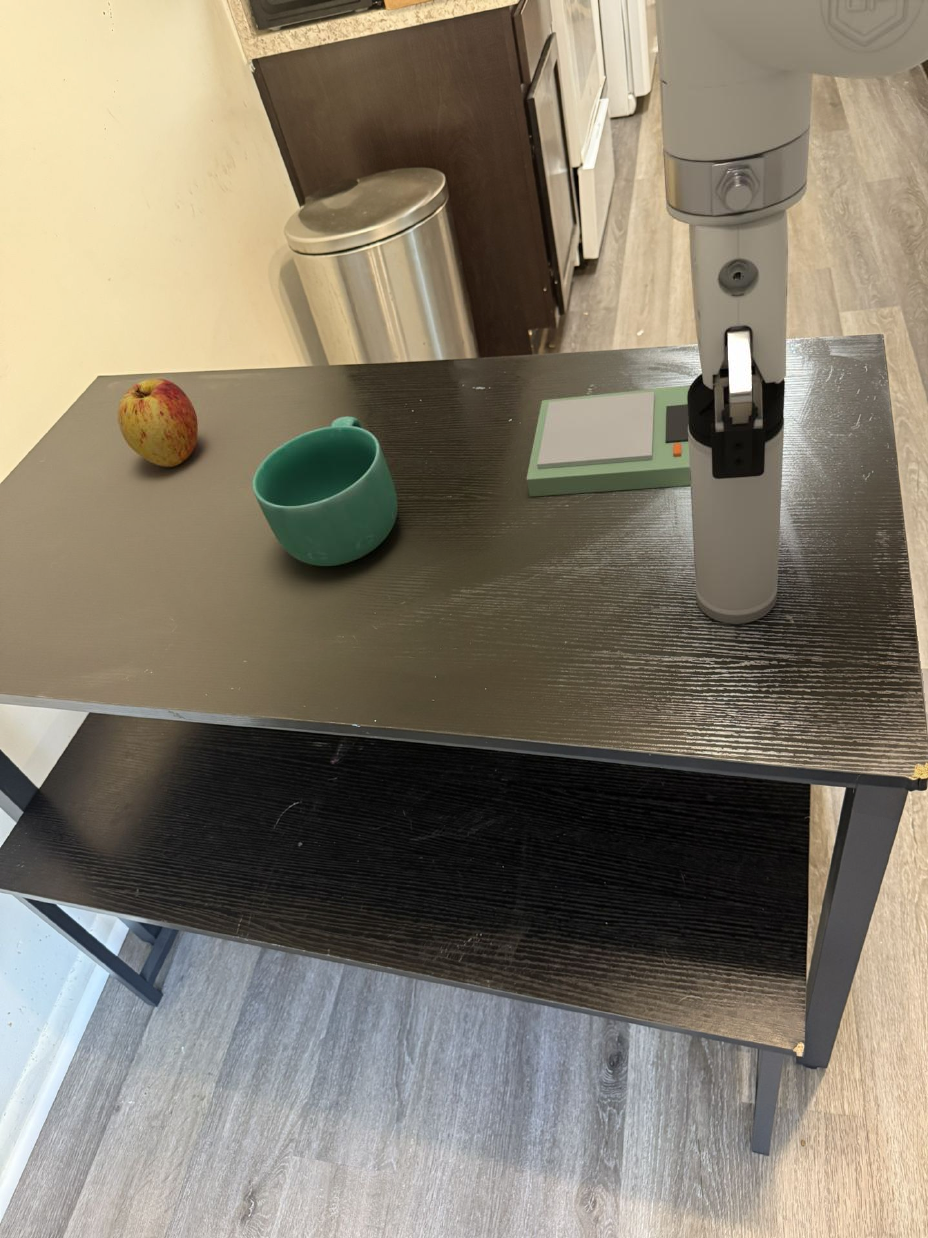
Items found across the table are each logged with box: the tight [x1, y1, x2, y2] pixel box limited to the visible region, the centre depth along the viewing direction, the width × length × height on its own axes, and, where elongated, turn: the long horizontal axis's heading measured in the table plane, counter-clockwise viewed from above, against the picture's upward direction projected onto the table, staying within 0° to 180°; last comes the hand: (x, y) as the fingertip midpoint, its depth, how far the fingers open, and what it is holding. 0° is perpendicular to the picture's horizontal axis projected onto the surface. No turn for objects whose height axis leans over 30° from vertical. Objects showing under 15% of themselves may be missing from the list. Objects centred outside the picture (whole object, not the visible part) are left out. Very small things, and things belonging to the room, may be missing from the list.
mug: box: [252, 416, 399, 567], centre depth 85 cm, size 17×13×10 cm
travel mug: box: [687, 363, 786, 625], centre depth 63 cm, size 6×7×20 cm
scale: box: [525, 384, 691, 498], centre depth 87 cm, size 16×14×3 cm
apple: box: [117, 378, 199, 468], centre depth 104 cm, size 9×9×10 cm
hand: (734, 431), depth 59 cm, fingers open, 9 cm apart
